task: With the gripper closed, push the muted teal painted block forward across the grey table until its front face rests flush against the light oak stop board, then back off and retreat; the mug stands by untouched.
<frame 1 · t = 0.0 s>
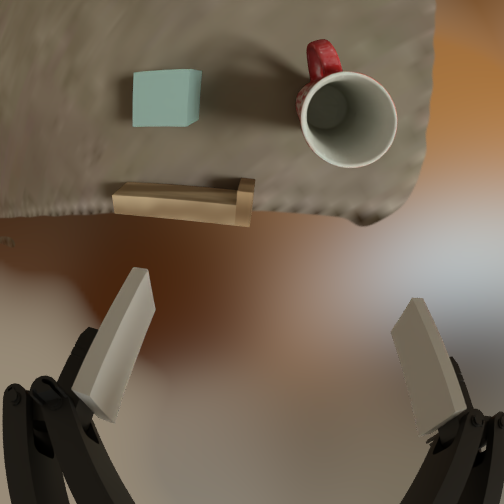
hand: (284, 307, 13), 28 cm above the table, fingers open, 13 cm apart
mug: (319, 93, 31), on the table
block: (175, 95, 31), on the table
stop board: (180, 194, 40), on the table
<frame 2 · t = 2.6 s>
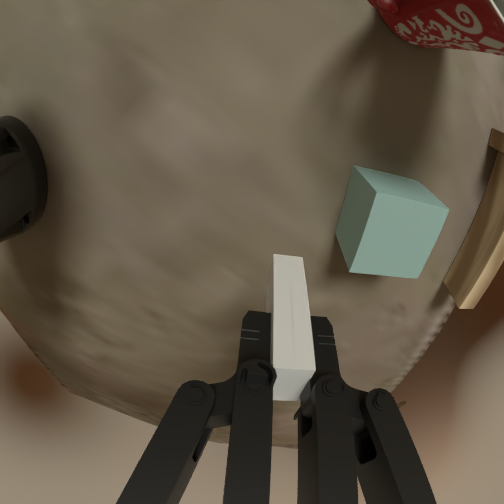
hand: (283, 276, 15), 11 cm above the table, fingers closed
mug: (395, 9, 13), on the table
block: (377, 206, 24), on the table
stop board: (480, 223, 23), on the table
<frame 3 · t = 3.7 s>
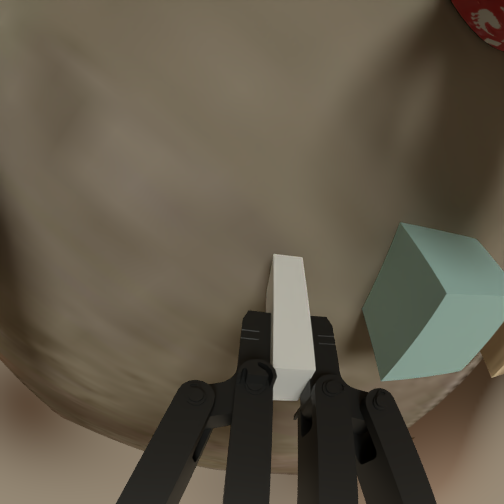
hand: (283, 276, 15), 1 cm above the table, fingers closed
block: (421, 273, 16), on the table
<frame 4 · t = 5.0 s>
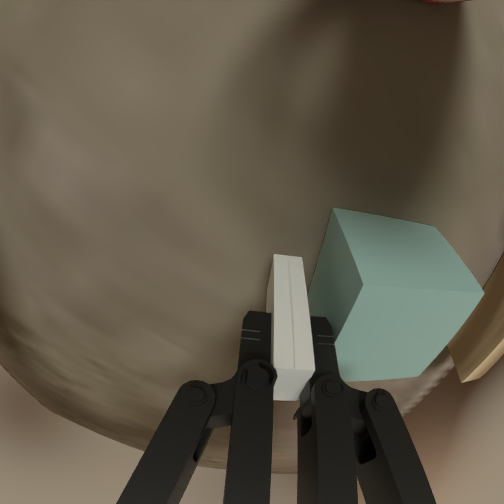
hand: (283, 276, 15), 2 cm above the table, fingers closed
block: (370, 266, 16), on the table, touching gripper
stop board: (503, 271, 15), on the table
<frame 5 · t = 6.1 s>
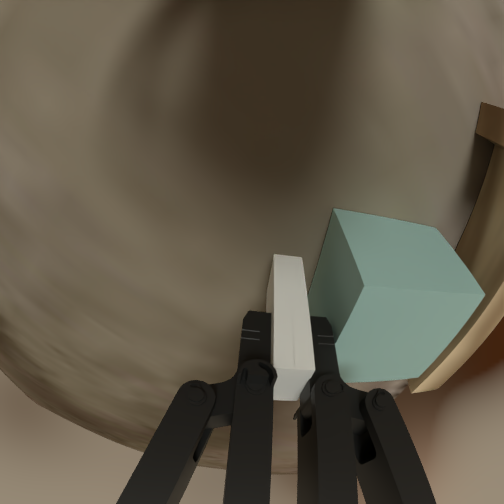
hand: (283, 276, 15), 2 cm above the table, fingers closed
block: (371, 267, 16), on the table, touching gripper
stop board: (461, 266, 15), on the table
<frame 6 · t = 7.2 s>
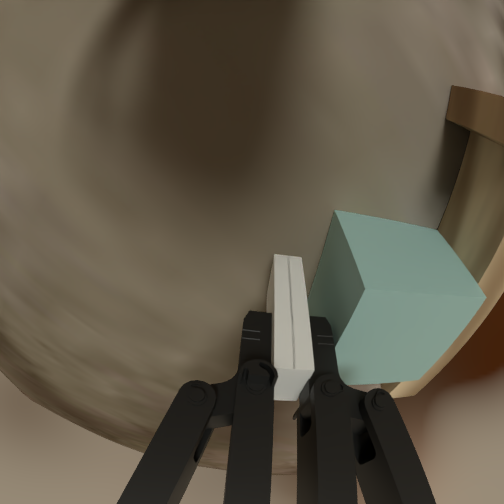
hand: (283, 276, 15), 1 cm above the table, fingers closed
block: (372, 269, 16), on the table, touching gripper, stop board
stop board: (437, 265, 15), on the table
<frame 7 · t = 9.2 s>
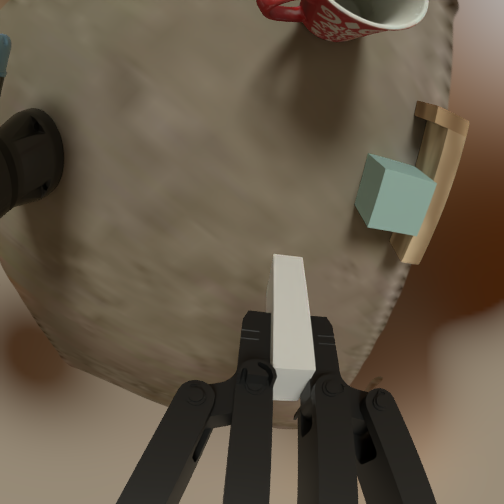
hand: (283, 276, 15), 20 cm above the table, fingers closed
mug: (316, 16, 20), on the table
block: (385, 184, 31), on the table
stop board: (418, 186, 31), on the table
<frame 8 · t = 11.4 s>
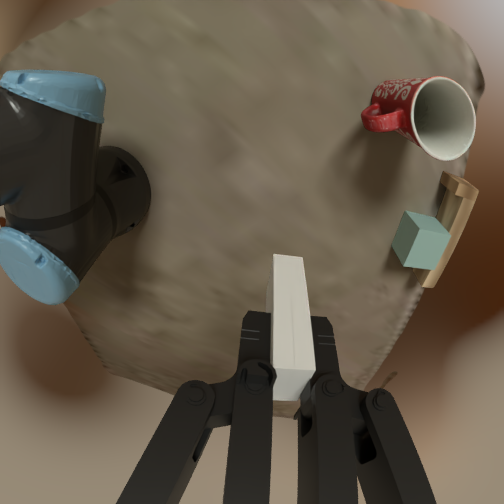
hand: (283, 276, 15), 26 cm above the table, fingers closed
mug: (383, 104, 31), on the table
block: (413, 231, 42), on the table
stop board: (436, 231, 41), on the table
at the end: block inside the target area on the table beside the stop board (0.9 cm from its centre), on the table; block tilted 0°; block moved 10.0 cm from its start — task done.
